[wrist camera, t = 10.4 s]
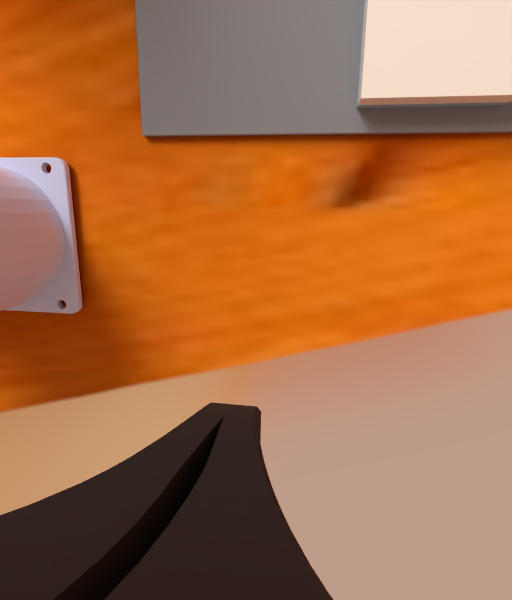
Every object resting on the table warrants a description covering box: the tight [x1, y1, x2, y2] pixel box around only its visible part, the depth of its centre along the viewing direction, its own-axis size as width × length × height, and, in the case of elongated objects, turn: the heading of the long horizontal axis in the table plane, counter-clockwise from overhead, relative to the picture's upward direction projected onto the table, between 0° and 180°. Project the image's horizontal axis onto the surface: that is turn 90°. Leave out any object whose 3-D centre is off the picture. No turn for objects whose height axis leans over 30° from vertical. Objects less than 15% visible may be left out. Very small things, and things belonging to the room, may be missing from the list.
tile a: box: [356, 0, 512, 108], centre depth 15 cm, size 2×6×6 cm
